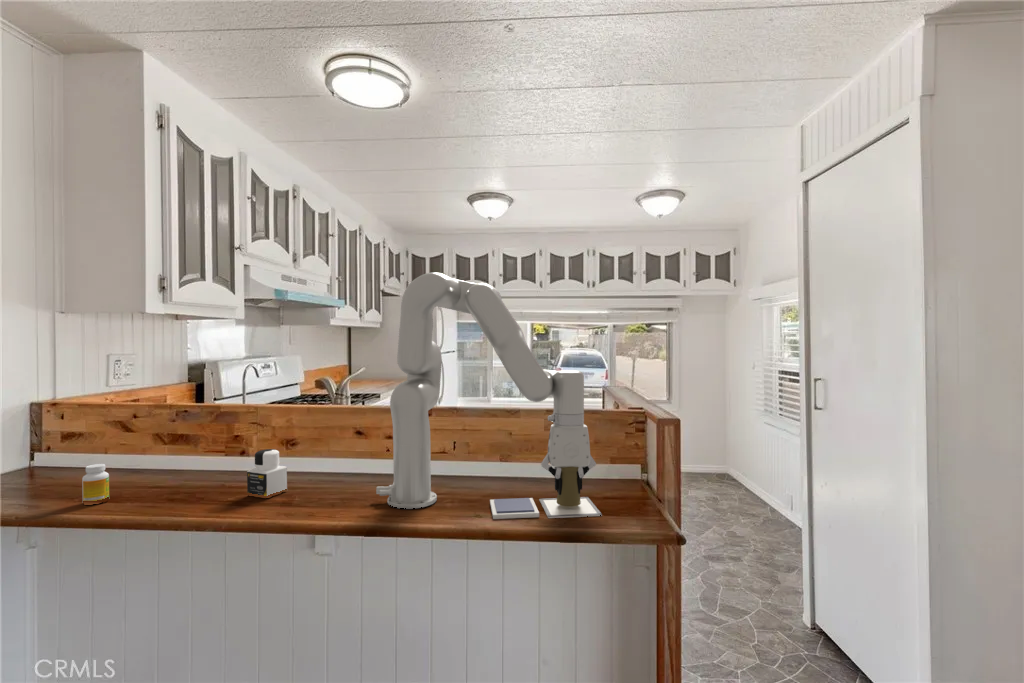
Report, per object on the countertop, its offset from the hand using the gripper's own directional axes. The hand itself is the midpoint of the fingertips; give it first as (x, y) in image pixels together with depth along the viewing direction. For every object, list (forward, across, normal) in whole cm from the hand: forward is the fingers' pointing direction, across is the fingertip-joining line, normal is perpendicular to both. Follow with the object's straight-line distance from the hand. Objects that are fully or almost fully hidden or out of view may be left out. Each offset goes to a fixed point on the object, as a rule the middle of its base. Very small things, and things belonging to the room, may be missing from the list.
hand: (568, 492), depth 127 cm
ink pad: (+4, -14, 0) cm, 14 cm away
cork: (+3, 0, 0) cm, 3 cm away
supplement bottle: (+5, -121, +18) cm, 123 cm away
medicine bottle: (+5, -79, +20) cm, 82 cm away
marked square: (+4, 0, 0) cm, 4 cm away
